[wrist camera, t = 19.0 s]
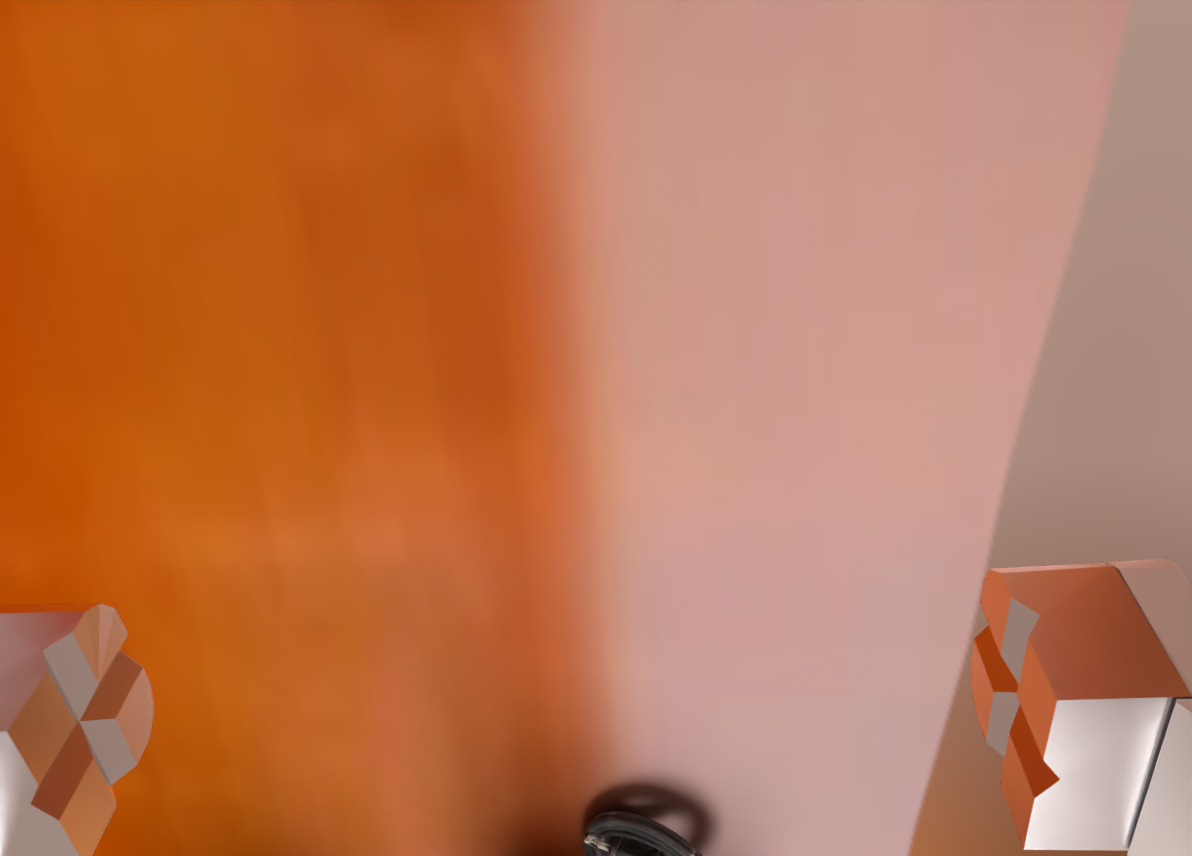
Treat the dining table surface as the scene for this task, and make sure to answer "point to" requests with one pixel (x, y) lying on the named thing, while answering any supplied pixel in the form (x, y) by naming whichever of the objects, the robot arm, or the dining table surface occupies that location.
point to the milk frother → (632, 837)
